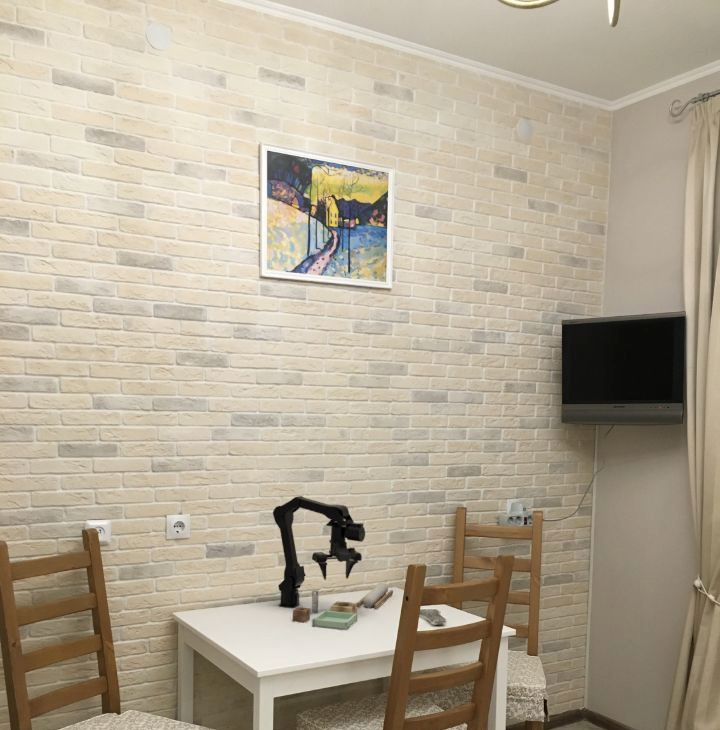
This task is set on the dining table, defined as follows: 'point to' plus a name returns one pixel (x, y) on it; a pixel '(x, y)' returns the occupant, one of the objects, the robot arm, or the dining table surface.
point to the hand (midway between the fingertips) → (335, 579)
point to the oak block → (344, 607)
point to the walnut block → (301, 614)
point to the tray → (334, 620)
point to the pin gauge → (315, 601)
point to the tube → (375, 595)
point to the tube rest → (378, 601)
